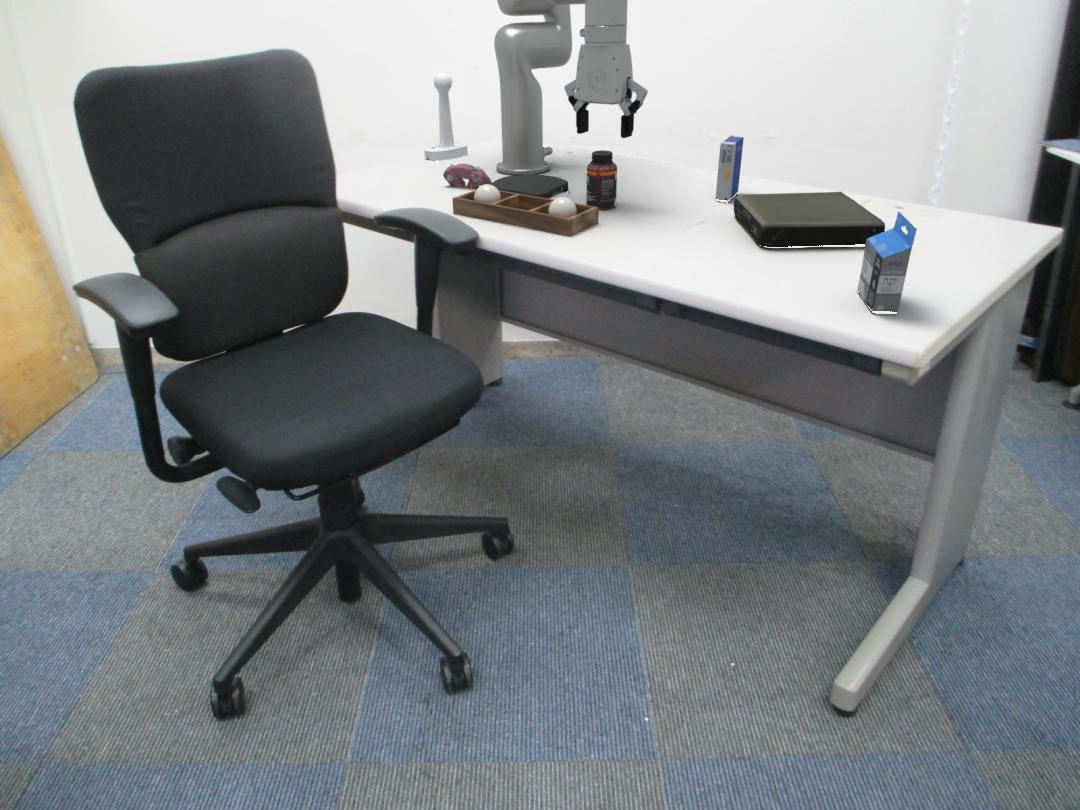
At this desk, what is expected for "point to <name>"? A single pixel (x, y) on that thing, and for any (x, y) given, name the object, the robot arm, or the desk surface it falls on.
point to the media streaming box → (532, 185)
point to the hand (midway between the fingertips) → (604, 134)
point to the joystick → (445, 124)
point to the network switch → (806, 219)
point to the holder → (526, 213)
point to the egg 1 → (487, 194)
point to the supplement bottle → (602, 181)
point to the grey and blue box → (886, 266)
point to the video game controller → (466, 175)
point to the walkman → (729, 167)
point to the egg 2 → (562, 207)
